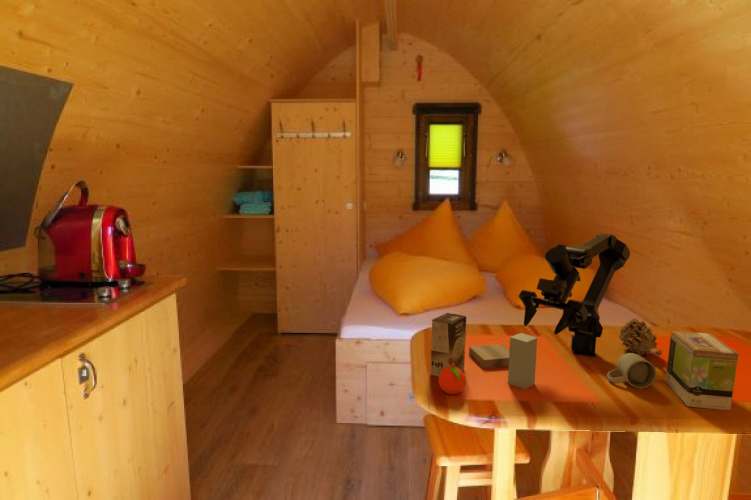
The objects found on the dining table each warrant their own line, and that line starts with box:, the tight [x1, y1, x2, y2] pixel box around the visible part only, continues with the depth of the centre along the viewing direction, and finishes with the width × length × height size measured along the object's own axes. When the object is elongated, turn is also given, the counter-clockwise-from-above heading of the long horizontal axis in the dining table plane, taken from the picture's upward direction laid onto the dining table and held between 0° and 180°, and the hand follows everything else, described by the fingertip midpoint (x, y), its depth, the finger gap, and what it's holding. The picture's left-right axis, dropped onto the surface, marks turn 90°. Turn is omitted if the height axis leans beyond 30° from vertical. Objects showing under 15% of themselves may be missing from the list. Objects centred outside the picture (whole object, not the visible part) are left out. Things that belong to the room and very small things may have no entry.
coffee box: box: [430, 312, 467, 378], centre depth 140 cm, size 9×6×16 cm
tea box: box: [665, 330, 739, 411], centre depth 126 cm, size 15×10×15 cm, turn 168°
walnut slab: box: [468, 343, 510, 369], centre depth 151 cm, size 11×11×3 cm
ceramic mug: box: [606, 352, 657, 389], centre depth 135 cm, size 11×8×8 cm
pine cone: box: [618, 318, 663, 357], centre depth 152 cm, size 22×10×10 cm, turn 2°
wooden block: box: [507, 332, 538, 390], centre depth 133 cm, size 5×5×13 cm
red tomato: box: [438, 366, 467, 395], centre depth 128 cm, size 8×7×7 cm
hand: (539, 329), depth 137 cm, fingers open, 9 cm apart
